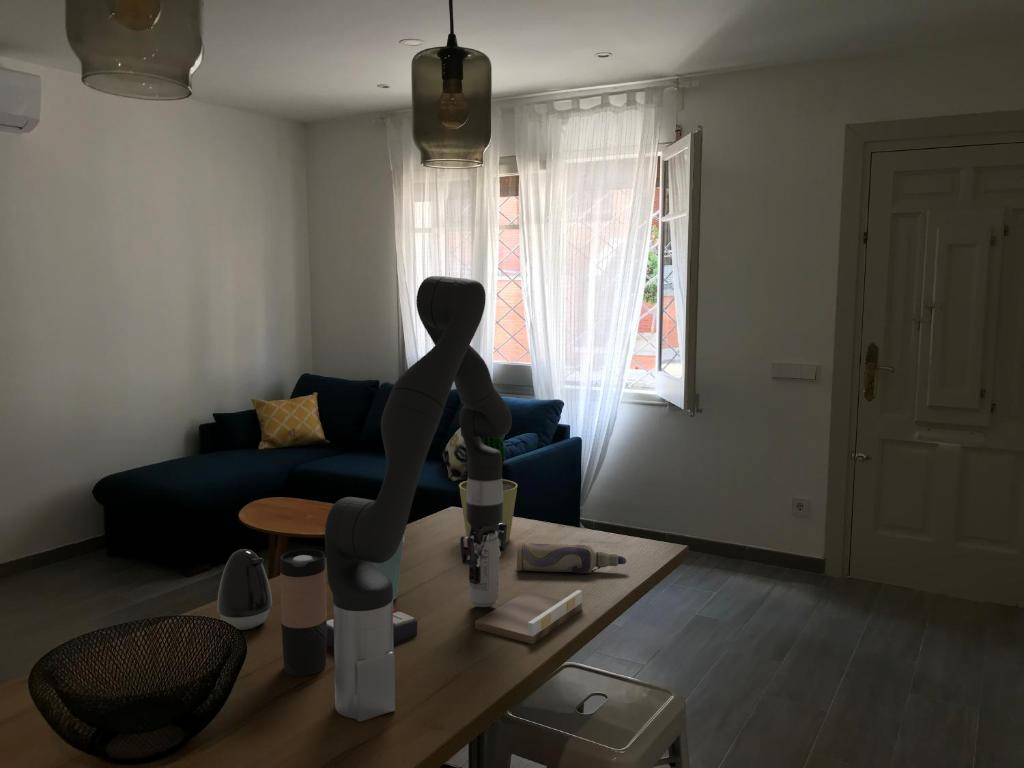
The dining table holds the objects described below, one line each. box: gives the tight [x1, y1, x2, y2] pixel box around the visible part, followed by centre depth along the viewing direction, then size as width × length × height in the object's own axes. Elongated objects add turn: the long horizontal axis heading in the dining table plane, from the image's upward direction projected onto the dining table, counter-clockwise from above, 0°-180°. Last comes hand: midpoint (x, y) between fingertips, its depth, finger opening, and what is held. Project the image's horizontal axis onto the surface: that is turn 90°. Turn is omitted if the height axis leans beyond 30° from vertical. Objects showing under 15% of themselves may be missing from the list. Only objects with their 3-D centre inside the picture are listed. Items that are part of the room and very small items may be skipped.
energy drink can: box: [468, 533, 500, 608], centre depth 169 cm, size 6×6×15 cm
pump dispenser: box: [216, 548, 273, 631], centre depth 159 cm, size 10×10×15 cm
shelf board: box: [474, 589, 583, 645], centre depth 164 cm, size 20×13×2 cm, turn 148°
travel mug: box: [279, 548, 328, 677], centre depth 141 cm, size 8×8×20 cm
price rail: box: [528, 589, 583, 637], centre depth 160 cm, size 20×1×2 cm, turn 148°
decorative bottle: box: [516, 542, 627, 575], centre depth 192 cm, size 26×8×7 cm, turn 86°
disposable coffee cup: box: [372, 534, 405, 601], centre depth 174 cm, size 11×11×15 cm
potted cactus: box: [458, 437, 518, 546], centre depth 215 cm, size 15×15×30 cm
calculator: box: [326, 608, 418, 650], centre depth 155 cm, size 11×4×15 cm
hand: (484, 578), depth 169 cm, fingers closed on energy drink can, 6 cm apart
